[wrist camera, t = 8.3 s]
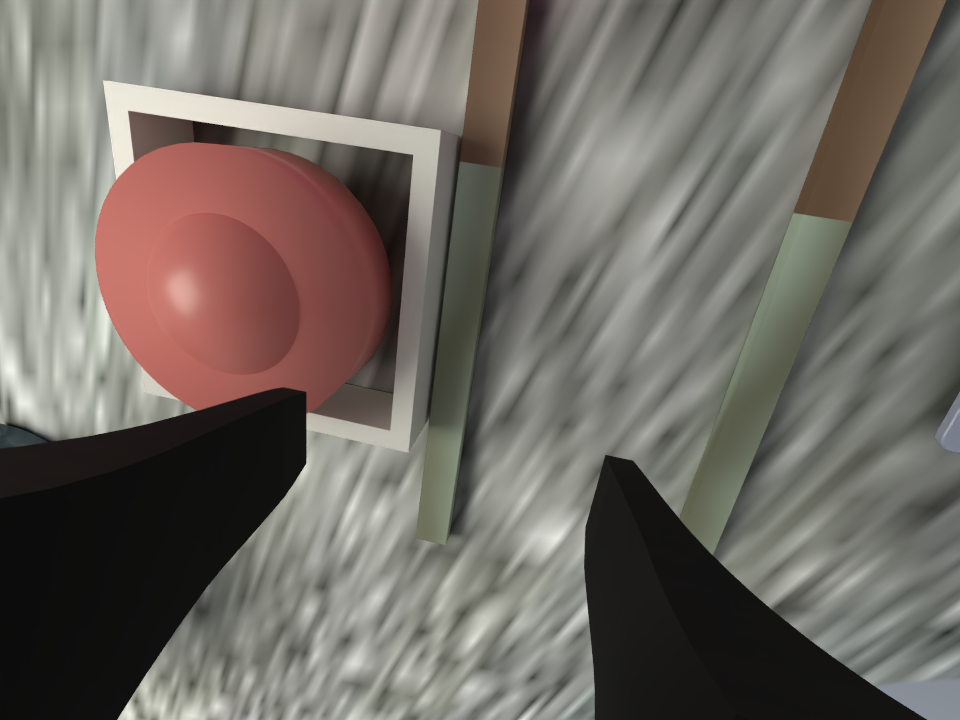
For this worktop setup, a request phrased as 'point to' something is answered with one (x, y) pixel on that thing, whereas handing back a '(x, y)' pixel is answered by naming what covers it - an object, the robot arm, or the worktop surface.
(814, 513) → the worktop surface
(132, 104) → the white square frame
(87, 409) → the worktop surface
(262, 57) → the worktop surface
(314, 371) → the dome
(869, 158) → the game lane
